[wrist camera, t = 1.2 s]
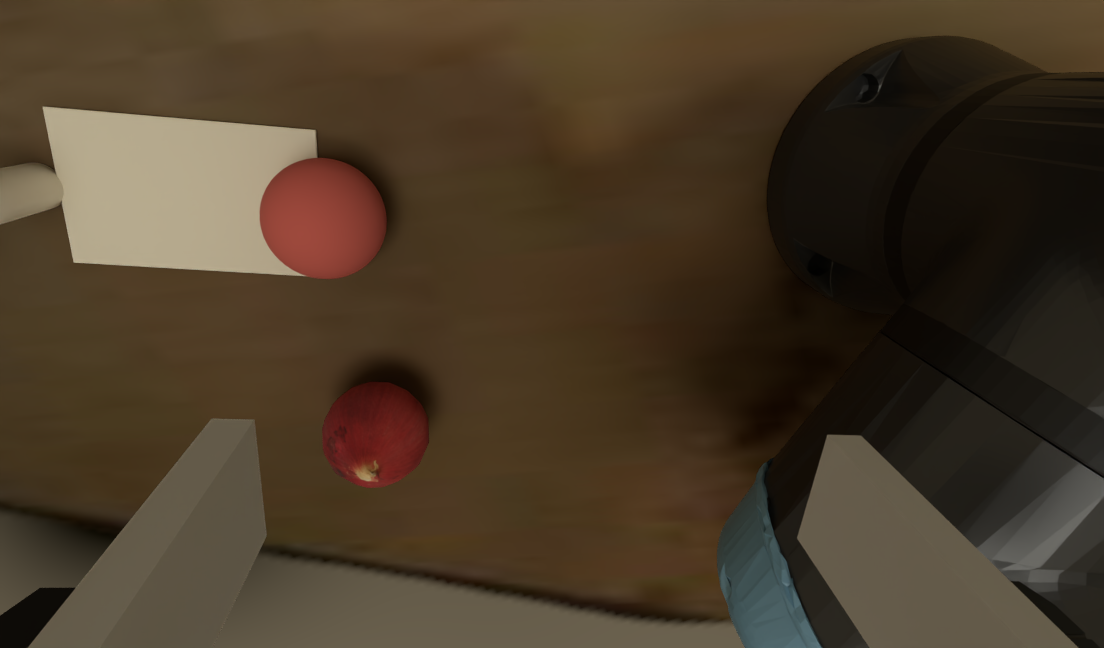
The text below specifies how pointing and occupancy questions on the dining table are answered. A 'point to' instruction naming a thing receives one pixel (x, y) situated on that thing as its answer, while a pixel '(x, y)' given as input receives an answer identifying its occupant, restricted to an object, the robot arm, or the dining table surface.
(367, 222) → the ball
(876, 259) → the robot arm
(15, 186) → the pin
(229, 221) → the cream flat rectangular slab
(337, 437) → the onion
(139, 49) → the dining table surface
